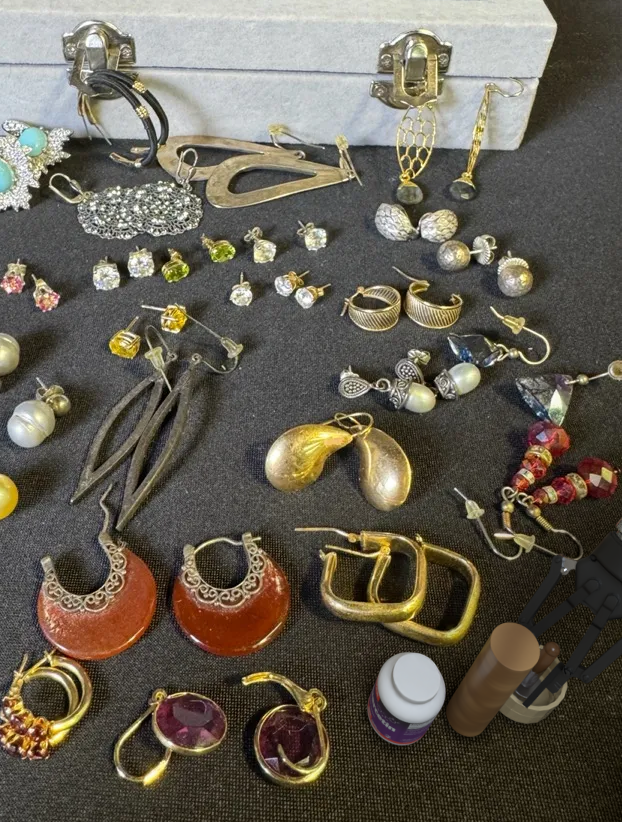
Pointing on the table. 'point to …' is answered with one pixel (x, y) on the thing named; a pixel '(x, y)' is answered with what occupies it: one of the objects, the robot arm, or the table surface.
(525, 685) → the wooden handled stamp
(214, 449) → the table surface
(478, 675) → the wooden dowel cylinder
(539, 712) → the bowl
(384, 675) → the pill bottle
